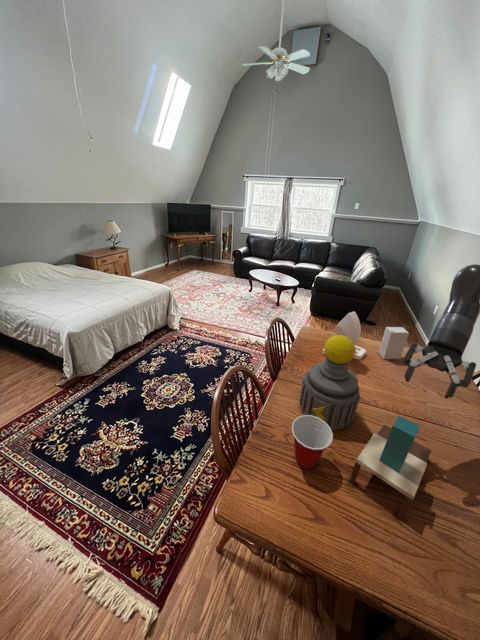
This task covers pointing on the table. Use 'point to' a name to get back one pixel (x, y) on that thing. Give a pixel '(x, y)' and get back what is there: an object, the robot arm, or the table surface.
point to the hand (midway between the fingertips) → (425, 389)
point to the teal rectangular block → (399, 443)
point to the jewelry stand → (351, 332)
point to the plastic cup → (310, 439)
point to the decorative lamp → (332, 385)
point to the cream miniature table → (401, 481)
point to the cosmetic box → (393, 342)
